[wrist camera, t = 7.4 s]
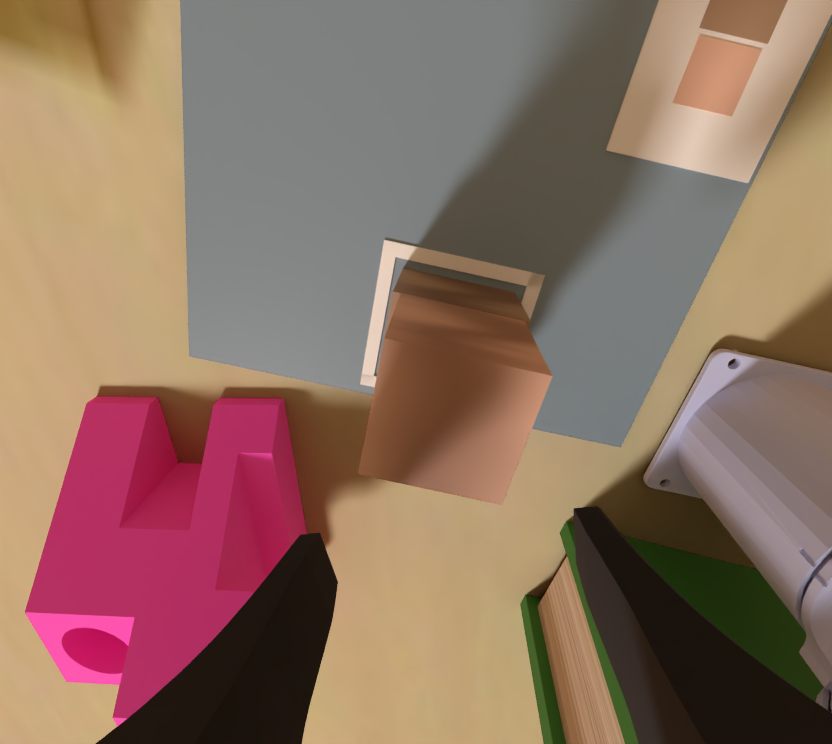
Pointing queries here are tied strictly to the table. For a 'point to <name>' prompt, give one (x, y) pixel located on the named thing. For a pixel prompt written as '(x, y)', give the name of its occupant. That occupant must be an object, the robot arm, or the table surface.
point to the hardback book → (588, 661)
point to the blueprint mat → (474, 173)
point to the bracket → (161, 540)
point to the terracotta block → (453, 399)
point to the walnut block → (457, 294)
